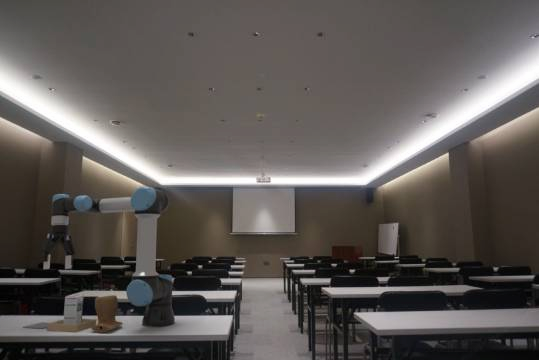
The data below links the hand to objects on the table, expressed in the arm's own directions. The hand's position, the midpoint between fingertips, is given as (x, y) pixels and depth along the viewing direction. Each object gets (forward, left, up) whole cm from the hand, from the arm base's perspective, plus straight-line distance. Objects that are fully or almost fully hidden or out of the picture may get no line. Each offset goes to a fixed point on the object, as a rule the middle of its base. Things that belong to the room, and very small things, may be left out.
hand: (57, 268), depth 183 cm
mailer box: (-13, -3, -26) cm, 30 cm away
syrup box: (-13, +4, -26) cm, 30 cm away
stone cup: (-30, +4, -26) cm, 40 cm away
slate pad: (+4, +2, -26) cm, 27 cm away
